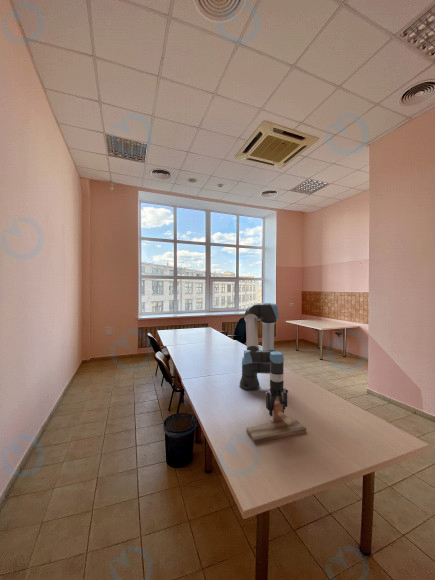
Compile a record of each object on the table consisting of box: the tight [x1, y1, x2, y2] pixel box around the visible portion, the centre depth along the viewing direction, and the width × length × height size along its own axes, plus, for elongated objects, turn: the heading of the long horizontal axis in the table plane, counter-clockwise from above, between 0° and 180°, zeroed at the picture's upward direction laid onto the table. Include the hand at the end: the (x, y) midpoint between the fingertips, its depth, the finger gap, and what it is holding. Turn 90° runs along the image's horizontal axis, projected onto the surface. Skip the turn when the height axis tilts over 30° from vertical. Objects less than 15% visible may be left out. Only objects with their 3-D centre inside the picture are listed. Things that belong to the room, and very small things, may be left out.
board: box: [245, 417, 307, 444], centre depth 123 cm, size 10×30×2 cm, turn 107°
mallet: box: [273, 400, 291, 429], centre depth 127 cm, size 15×5×10 cm, turn 17°
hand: (276, 420), depth 132 cm, fingers closed on mallet, 5 cm apart
